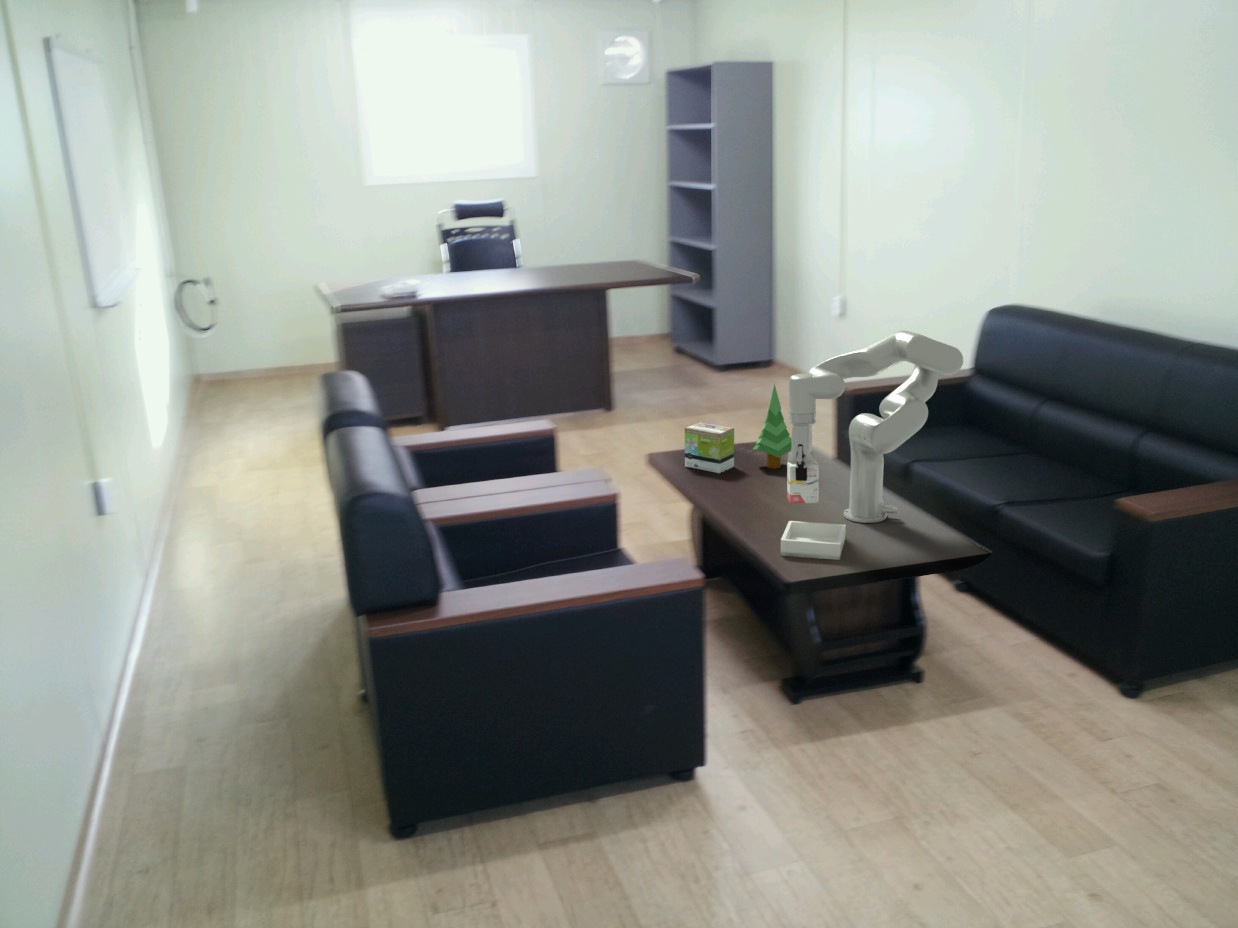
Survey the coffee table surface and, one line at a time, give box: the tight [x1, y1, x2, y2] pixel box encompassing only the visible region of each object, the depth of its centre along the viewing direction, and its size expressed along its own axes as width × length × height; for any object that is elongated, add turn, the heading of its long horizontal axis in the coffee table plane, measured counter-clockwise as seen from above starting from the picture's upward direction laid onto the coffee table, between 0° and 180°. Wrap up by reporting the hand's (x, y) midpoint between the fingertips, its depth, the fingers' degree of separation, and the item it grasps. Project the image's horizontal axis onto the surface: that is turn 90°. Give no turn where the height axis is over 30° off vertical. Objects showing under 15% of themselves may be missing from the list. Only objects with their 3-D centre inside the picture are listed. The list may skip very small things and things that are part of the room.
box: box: [780, 520, 847, 561], centre depth 289 cm, size 16×16×4 cm
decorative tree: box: [752, 383, 792, 469], centre depth 362 cm, size 14×16×30 cm
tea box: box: [684, 421, 735, 474], centre depth 366 cm, size 15×10×15 cm
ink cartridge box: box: [786, 450, 820, 505], centre depth 303 cm, size 9×5×15 cm, turn 92°
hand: (802, 476), depth 303 cm, fingers closed on ink cartridge box, 6 cm apart
